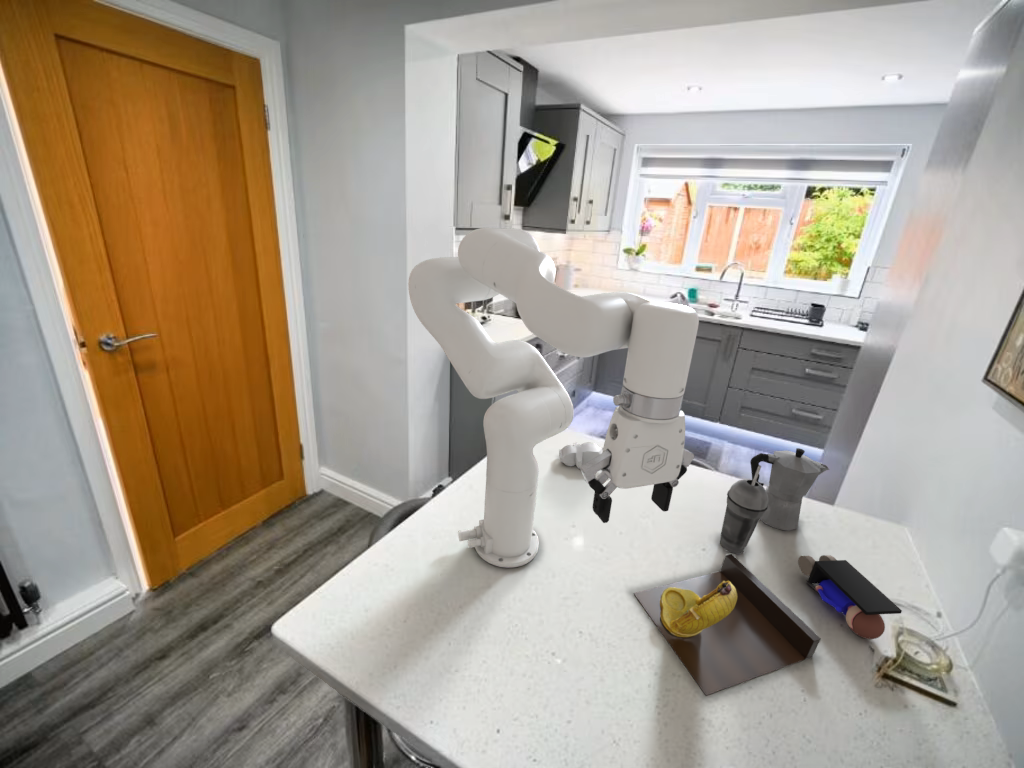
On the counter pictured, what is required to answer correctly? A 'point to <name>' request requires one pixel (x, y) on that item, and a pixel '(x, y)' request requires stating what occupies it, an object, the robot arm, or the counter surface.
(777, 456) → the coffeepot
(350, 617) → the counter surface
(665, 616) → the yellow ribbed curl ornament
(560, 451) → the bunny figurine
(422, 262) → the robot arm
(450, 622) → the counter surface
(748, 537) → the beverage cup
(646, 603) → the dark wood ledge tray
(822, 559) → the figurine character
